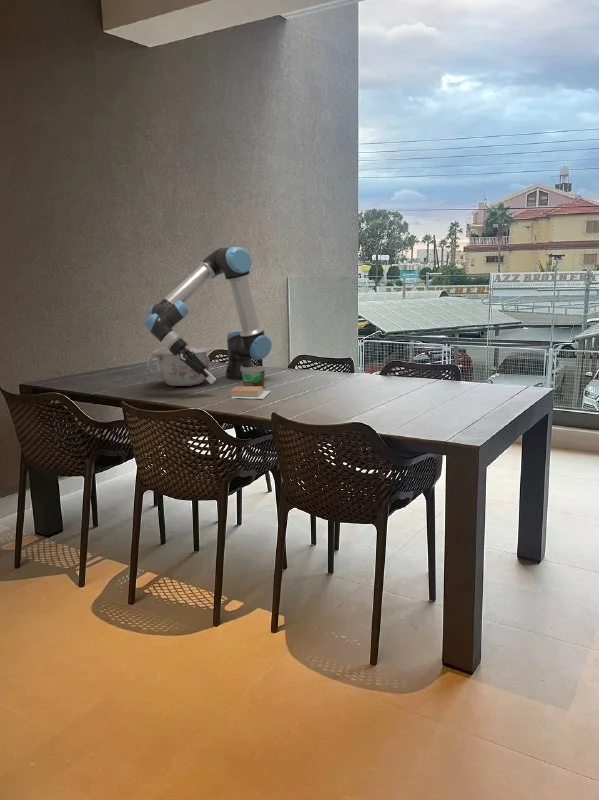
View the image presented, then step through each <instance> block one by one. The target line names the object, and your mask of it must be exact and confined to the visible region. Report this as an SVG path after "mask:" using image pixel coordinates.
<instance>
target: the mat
mask: <svg viewBox="0 0 599 800" xmlns="http://www.w3.org/2000/svg"><path fill="white" fill-rule="evenodd" d="M269 393H270V394H271V393H272V390H263V393H262V394H260V395H259V396H258V397H236V396H230V399H231V398H249V399H263V400H265V399H266V398H267V397H268V396H269V395H270V394H269ZM268 394H269V395H268ZM267 395H268V396H267ZM266 396H267V397H266ZM265 397H266V398H265ZM264 398H265V399H264Z"/></svg>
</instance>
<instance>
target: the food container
mask: <svg viewBox="0 0 599 800" xmlns="http://www.w3.org/2000/svg"><path fill="white" fill-rule="evenodd" d="M240 371H242V377H243V379H242V383H243V386H263V388H264V387H265V372H266V371H267V369H266V366H265V365H264V366H263V365H262V366H258V367H256V366H253V367H242V366H241V369H240Z"/></svg>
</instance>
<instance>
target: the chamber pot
mask: <svg viewBox="0 0 599 800" xmlns="http://www.w3.org/2000/svg"><path fill="white" fill-rule="evenodd" d="M185 342H186V343H187V345H186V346H185V348H187V349H188V350H190V351H191V352H192V351H193V352H194V353H195V355H196V356H197V357H198V358H199V359H200V361H201V362H202V363H203V364H204V365H205V366H206V367H207V368H206V370H207V371H208V372H209V370H210V365H211V363H210V358H209V356H208V353H209V352H211V351H212V350H213V349H212V348H211V347H209V346H206V345H198V344H197V345H195V344H194V345H193V344H188V342H187V341H185ZM154 358H155V359H157V361H156V363H157V364H156V365H157V370H158V371H156V369H154V368H153V366H152V360H153V359H154ZM180 358H181V357H180V356H179V354H177V355H173V354H172V353H171V352H170V351H169V349H167V348H166V347H165V346H163V347H161V348H157V349H154V351H153V352H152V353H150V354H149V356H148V357H147V359H146V361H147V363H146V364H147V368H148V369H149V370H150V372H151V373H153V374H155V375H156V376H158V377H159V378H160V379H161V380H162V381H164V383H165V384H166V385H168V386H171V387H174V386H191V387H194V386H193V385H196V386H198V385H200V384H202V383H203V382H204V381H205V380H206V379H205V378H204V377H203V376H202V375H201V373H200V374H199V375H198V373H196V372H195V371H194V370H193V369H192V368H190V367H189V366H188V365H187V364H186V363H184V362H183V361H181V360H180Z"/></svg>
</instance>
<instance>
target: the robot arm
mask: <svg viewBox="0 0 599 800" xmlns="http://www.w3.org/2000/svg"><path fill="white" fill-rule="evenodd" d="M251 266H252V257H251V254H250V253H249V252H248V250H247V249H245V248H244V247H240V246H229V247H220V248H217V249H215V250H214V251H213V252H211V253H209V254H208V255H207V256H206V257H205V258H204V259H202V261H200V262H199V266H198V267H197V268H196V269H195V270H194V271H193V272H191V274H189V276H187V277H186V278H185V279H184V280H183V281H181V282H180V284H178V285H177V286H176V287H175V288H173V290H172V291H171V292H169V294H167V295H165V297H164V298H163V299H161V300H160V301H159V302H158V303H155V304H152V305H150V307H149V309H148V314H149V316H148V317H147V318H146V320H145V321H144V323H143V325H144V327H145V328H146V330H147V331H148V332H149V333H150V334H152V336H153V337H155V339H157V340H158V341H159V342H160V343H161V344H162V347H166V348H167V349H169V351H170V352H171V353H172V354H173V355H177V354H179V356H180V357H181V358H180V360H181V361H183V362H184V363H186V364H187V365H188V366H189V367H190V368H192V369H193V370H194V371H195V372H196V373H198V375H199V374H200V373H201V375H202V376H203V377H204V378H205V380H206V381H207V382H208V383H209V384H210V385H212V384H213V383H215V381H217V378H215V376H214V375H213V374H212V373H211V372H209V371H207V370H206V368H207V367H206V366H205V365H204V364H203V363H202V362H201V361H200V359H199V358H198V357H197V356H196V355H195V353H194V352H193V351H192V352H191V351H190V350H188V349H187V348H185V346H186V345H187V344H188V342H187V341H185V340H184V339H183V338H181V336H180V335H179V334H178V333H177V332H176V331H175V330H174V329H173V327H174V326H176V325H177V324H178V323H180V322H181V321H182V320H183V319H184V318H186V316H187V315H188V314H189V307H188V306H187V305H186V304H185V303H186V302H187V301H188V300H189V299H190V298H191V297H192V296H193V295H194V294H195V293H196V292H198V291H199V290H200V289H201V288H202V287H204V285H205V284H207V283H208V282H209V281H210V280H214V279H215V278H216V277H217V276H219V275H221V274H223V275H224V278H225V280H226V281H228V282H229V284H230V288H231V291H232V292H231V293H232V297H233V300H234V305H235V309H236V311H237V315H238V316H237V317H238V320H239V324H240V327H241V331H239V330H238V331H230V332H228V333H227V338H226V339H227V340H226V342H227V360H228V361H227V366H226V369H225V373H224V374H225V378H226V379H231V380H243V377H242V371H240V369H241V366H242V367H254V364H253V362H252V359H253V360H263V359H265V358H266V357H268V356H269V355H270V352H271V350H272V340H271V339H270V338H269V337H268V336H267V335H265V329H264V328H263V327H262V326H260V323H259V319H258V315H257V310H256V307H255V302H254V299H253V295H252V290H251V286H250V282H249V276H250V269H251ZM186 342H187V343H186Z"/></svg>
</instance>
